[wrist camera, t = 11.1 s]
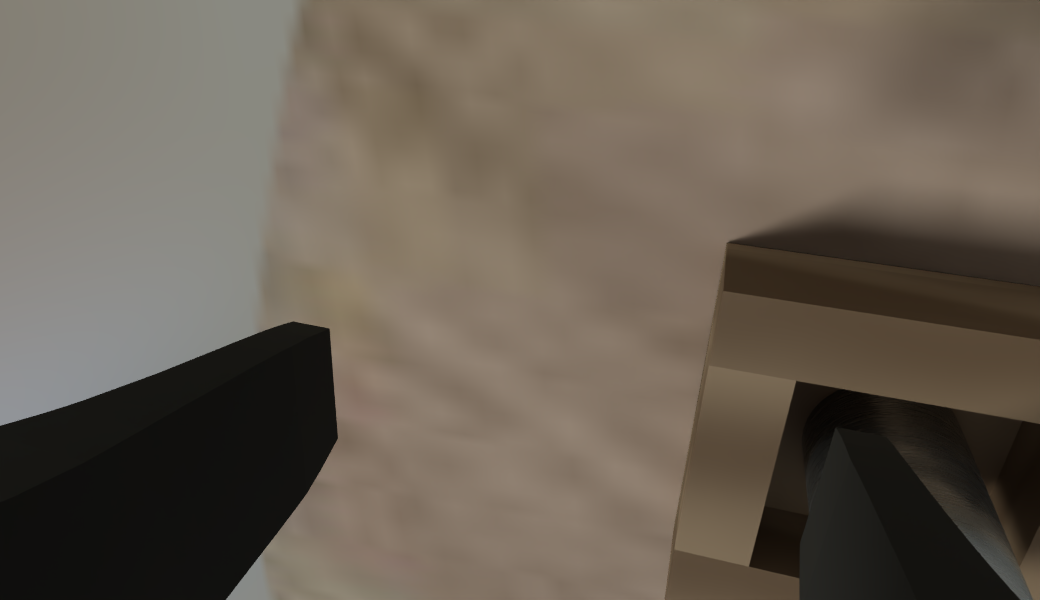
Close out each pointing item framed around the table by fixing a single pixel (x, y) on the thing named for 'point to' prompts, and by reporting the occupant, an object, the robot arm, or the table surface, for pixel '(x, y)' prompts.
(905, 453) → the grey cylinder
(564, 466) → the table surface
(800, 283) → the socket block
